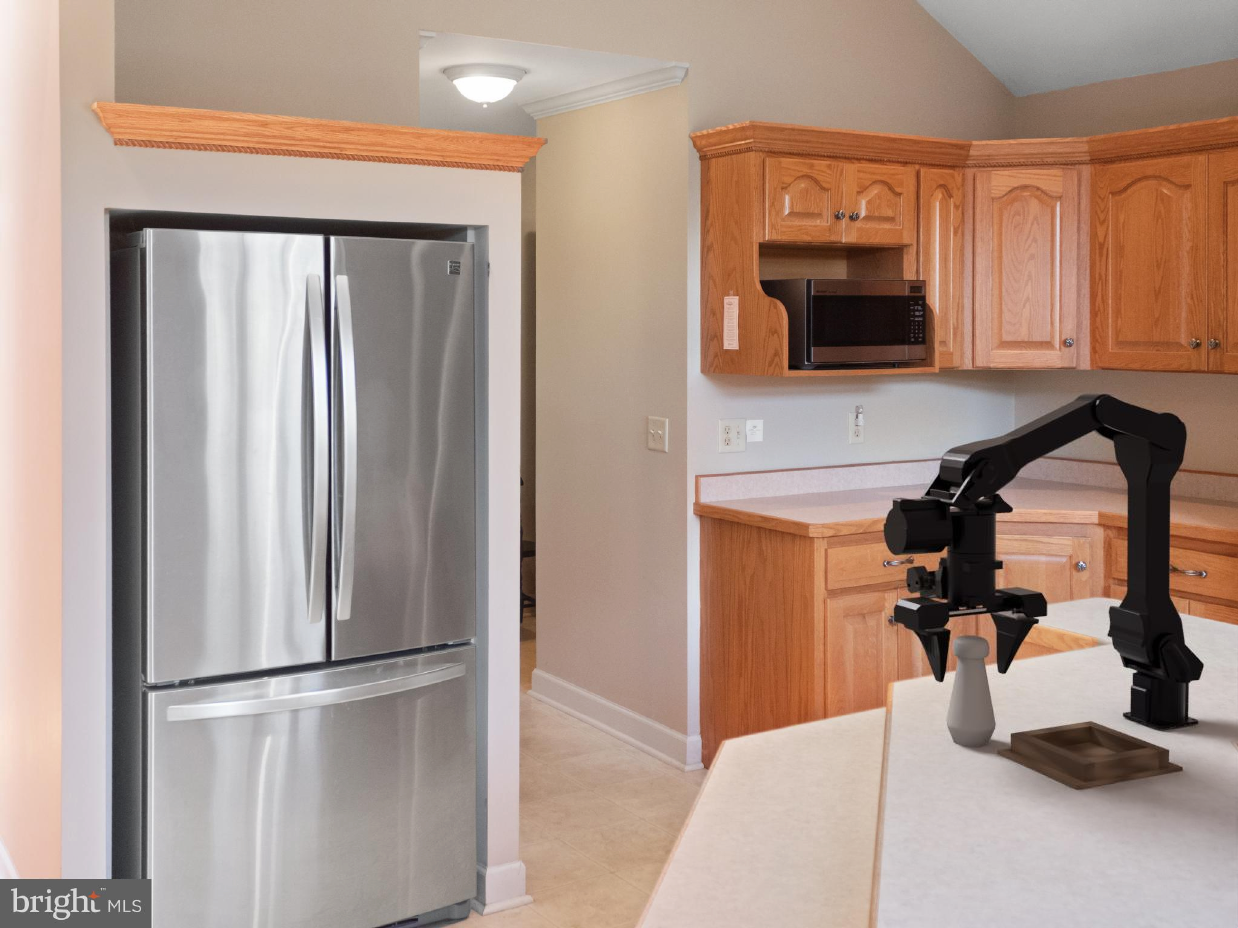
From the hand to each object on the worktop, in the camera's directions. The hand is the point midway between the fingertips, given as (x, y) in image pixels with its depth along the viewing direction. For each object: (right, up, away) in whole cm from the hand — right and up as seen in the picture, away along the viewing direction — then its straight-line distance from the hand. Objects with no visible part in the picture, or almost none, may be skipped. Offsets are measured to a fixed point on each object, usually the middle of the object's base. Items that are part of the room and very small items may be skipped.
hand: (970, 677), depth 140 cm
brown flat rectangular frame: (+11, -8, -8) cm, 16 cm away
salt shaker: (0, -8, +1) cm, 8 cm away
